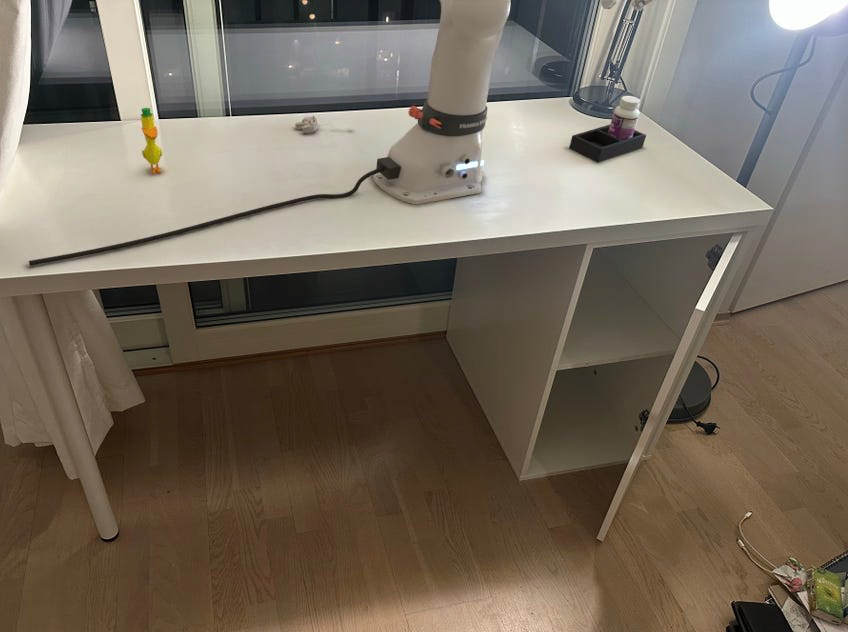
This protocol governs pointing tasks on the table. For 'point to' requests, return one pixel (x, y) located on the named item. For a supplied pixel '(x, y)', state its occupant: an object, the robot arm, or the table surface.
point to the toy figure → (150, 140)
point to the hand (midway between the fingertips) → (620, 6)
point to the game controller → (308, 124)
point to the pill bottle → (625, 118)
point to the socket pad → (604, 144)
